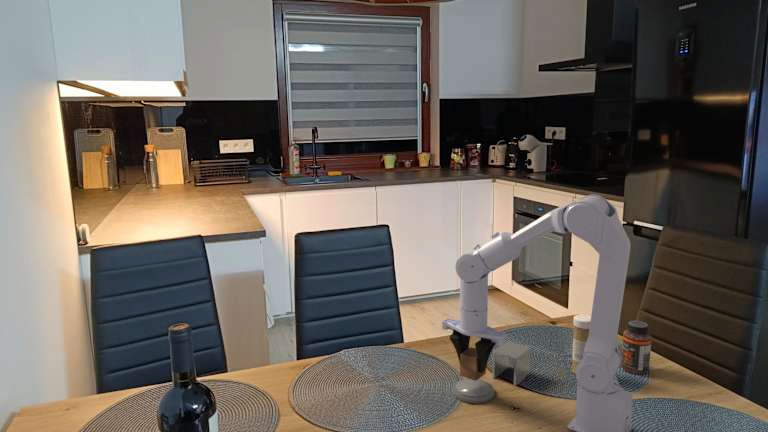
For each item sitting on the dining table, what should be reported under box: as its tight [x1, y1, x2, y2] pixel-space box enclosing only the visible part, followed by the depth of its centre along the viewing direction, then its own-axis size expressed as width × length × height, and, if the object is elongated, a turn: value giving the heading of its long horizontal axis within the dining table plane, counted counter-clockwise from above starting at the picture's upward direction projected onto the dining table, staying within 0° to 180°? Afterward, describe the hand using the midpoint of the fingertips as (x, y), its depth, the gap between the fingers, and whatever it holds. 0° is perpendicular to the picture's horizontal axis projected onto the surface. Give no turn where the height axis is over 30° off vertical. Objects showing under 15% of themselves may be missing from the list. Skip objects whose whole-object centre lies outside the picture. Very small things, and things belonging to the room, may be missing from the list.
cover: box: [491, 340, 532, 387], centre depth 122 cm, size 6×7×6 cm
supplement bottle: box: [620, 320, 652, 375], centre depth 124 cm, size 6×6×11 cm
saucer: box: [451, 378, 495, 405], centre depth 116 cm, size 9×9×1 cm
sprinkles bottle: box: [571, 314, 591, 376], centre depth 122 cm, size 5×5×13 cm
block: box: [459, 346, 487, 381], centre depth 115 cm, size 4×4×5 cm
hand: (472, 367), depth 115 cm, fingers closed on block, 4 cm apart
